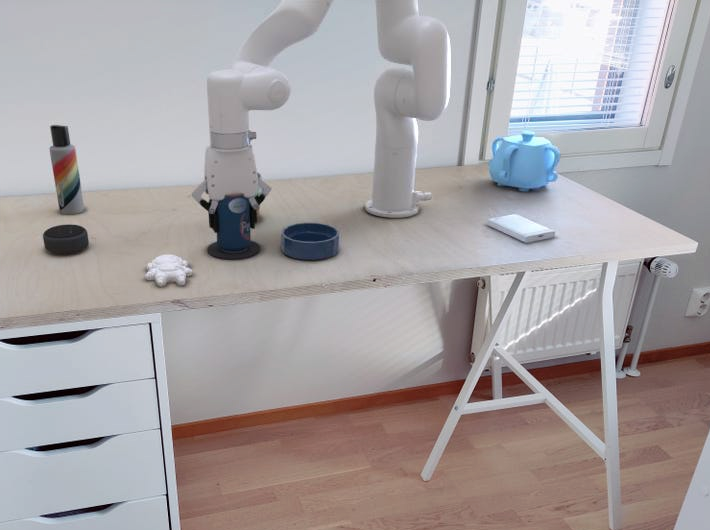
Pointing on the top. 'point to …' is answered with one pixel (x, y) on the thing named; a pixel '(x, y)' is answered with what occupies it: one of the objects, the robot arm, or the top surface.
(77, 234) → the smart speaker
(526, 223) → the hard drive
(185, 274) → the astronaut figurine
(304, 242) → the bowl
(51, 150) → the lotion bottle
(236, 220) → the soda can
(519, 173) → the decorative pot
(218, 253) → the coaster
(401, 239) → the top surface
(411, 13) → the robot arm
